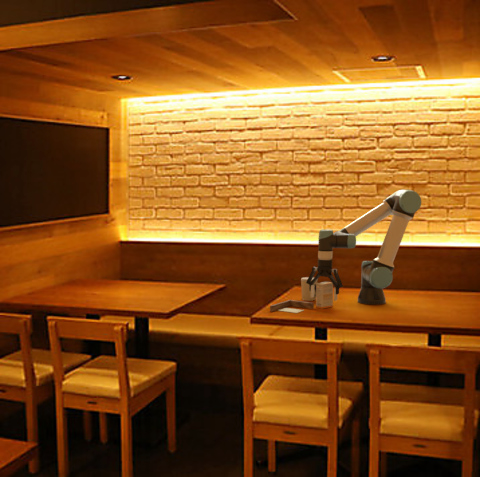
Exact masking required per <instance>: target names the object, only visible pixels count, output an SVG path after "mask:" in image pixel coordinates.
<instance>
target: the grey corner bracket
mask: <svg viewBox="0 0 480 477" xmlns="http://www.w3.org/2000/svg"><path fill="white" fill-rule="evenodd" d="M269 306H270V307H269V311H270V312H271V313H272V312H277V311H278V310H280V309H283V308H290V307H295V308H302V309H303V308H304V309H311V310H313V309H314V308H315V306H314V302H312V301H310V302H309V301H304V300H302V301H301V300H292V299H288V300H285V301H282V302H278V303H274V304H272V305H269Z"/></svg>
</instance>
